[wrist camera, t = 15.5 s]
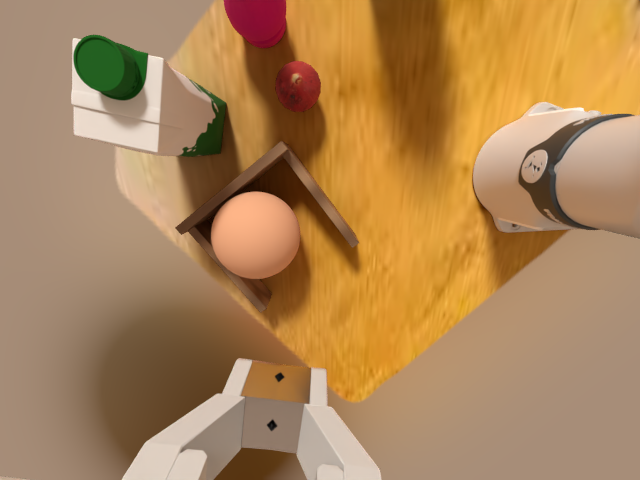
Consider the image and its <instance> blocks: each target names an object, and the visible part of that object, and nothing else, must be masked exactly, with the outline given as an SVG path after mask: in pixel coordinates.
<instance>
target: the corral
mask: <svg viewBox="0 0 640 480" xmlns="http://www.w3.org/2000/svg"><path fill="white" fill-rule="evenodd" d="M283 158H285V160H286V161H287V162H288V164H289V165H290V166H291V168H292V169H293V170H294V172H295V173H296V174H297V176H298V177H299V178H300V180H301V181H302V182H303V184H304V185H305V186H306V187H307V189H308V190H309V191H310V193H311V194H312V195H313V197H314V198H315V199H316V201H317V202H318V203H319V205H320V206H321V207H322V209H323V210H324V211H325V213H326V214H327V215H328V216H329V218H330V219H331V220H332V222H333V223H334V224H335V226H336V227H337V228H338V230H339V231H340V232H341V234H342V235H343V236H344V238H345V239H346V240H347V242H348V243H349V244H350V245H351V247H352V248H353V247H354V246H355V245H357V244H358V243H359V242H358V239H357V237H356V235H355V233H354V232H353V231H352V229H351V228H350V227H349V225H348V224H347V223H346V221H345V220H344V219H343V217H342V216H341V215H340V213H339V212H338V211H337V209H336V208H335V207H334V205H333V204H332V203H331V201H330V200H329V199H328V197H327V196H326V195H325V193H324V192H323V191H322V189H321V188H320V187H319V185H318V184H317V183H316V181H315V180H314V179H313V177H312V176H311V175H310V173H309V172H308V171H307V169H306V168H305V167H304V165H303V164H302V163H301V161H300V160H299V159H298V157H297V156H296V154H295V153H294V152H293V150H292V149H291V148H290V146H289V145H288V144H287V143H285V142H283V141H281V142H279V143H278V144H277V145H276V146H275V147H273V148H272V149H271V150H270V151H268V152H267V153H266V154H265V155H264V156H262V157H261V158H260V159H259V160H257V161H256V162H255V163H254V164H253V165H251V166H250V167H249V168H248V169H246V170H245V171H244V172H243V173H242V174H240V175H239V176H238V177H237V178H235V179H234V180H233V181H232V182H231V183H229V184H228V185H227V186H226V187H224V188H223V189H222V190H221V191H220V192H218V193H217V194H216V195H215V196H213V197H212V198H211V199H210V200H209V201H207V202H206V203H205V204H204V205H203V206H201V207H200V208H199V209H198V210H196V211H195V212H194V213H193V214H192V215H190V216H189V217H188V218H187V219H185V220H184V221H183V222H182V223H181V224H179V225H178V226H177V227H176V229H177V230H178V231H179V233H180V234H181V235H182V234H184V233H186V232H189V233H190V234H191V235H192V236H193V238H194V239H195V240H196V241H197V242H198V243H199V244H200V245H201V247H202V248H203V249H204V250H205V251H206V252H207V253H208V254H209V255H210V257H211V258H212V259H213V260H214V261H215V262H216V263H217V264H218V266H219V267H220V268H221V269H222V270H223V271H224V272H225V273H226V275H227V276H228V277H229V278H230V279H231V280H232V281H233V282H234V283H235V285H236V286H237V287H238V288H239V289H240V290H241V291H242V292H243V294H244V295H245V296H246V297H247V298H248V299H249V300H250V301H251V303H252V304H253V305H254V306H255V307H256V308H257V309H258V310H259V311H260V313H261V312H262V311H264V310H265V309H267V306H268V303H269V301H270V298H271V295H272V294H271V292H270V291H269V290H268V289H267V288H266V287H265V285H264V284H263V283H262V282H261V281H260V280H259V279H250V278H245V277H241V276H238V275H236V274H234V273H232V272H231V271H230V270H228V269H227V268H226V267H225V266H224V265H223V264H222V263H221V262H220V261H219V259H218V258H217V256H216V254H215V252H214V250H213V246H212V242H211V229H212V224H211V223H210V222H209V221H208V219H209V218H210V217H211V216H213V215H214V214H215V213H216V212H218V211H219V209H220V208H221V207H222V206H223V205H224V204H225V203H226V202H227V201H228V200H230V199H231V198H233V197H235V196H237V195H239V194H240V193H241V192H242V191H244V190H245V189H246V188H247V187H249V186H250V185H251V184H252V183H254V182H255V181H256V180H257V179H259V178H260V177H261V176H262V175H263V174H265V173H266V172H267V171H268V170H270V169H271V168H272V167H273V166H275V165H276V164H277V163H278V162H280V161H281V160H282V159H283Z"/></svg>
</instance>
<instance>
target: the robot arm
mask: <svg viewBox="0 0 640 480" xmlns="http://www.w3.org/2000/svg"><path fill="white" fill-rule="evenodd" d="M473 184H474V189H475V192H476V195H477V197H478V199H479V201H480V202H481V204H482V205H483V206H484V207H485V208H486V209H487V210H488V211H489V212H490V213H491V215H492V216H493V220H494V223H495V225H496V227H497V229H498V230H499V231H501V232H506V233H511V232H529V231H548V230H567V229H586V230H605V231H609V232H614V233H618V234H622V235H626V236H630V237H634V238H638V239H640V115H636V116H635V115H632V114H614V115H612V114H605V115H601V112H599V111H588V112H585V111H584V109H583V108H571V109H563V108H560V107H558V106H555V105H553V104H550V103H548V102H541V103H537V104H535V105H533V106H532V107H531V108H530V109H529V110H528V111H527V112H526V113H525V114H524V115H523V116H522V117H521V118H520V119H518V120H516V121H514V122H512V123H510V124H508V125H506V126H504V127H502V128H501V129H499V130H498V131H497V132H495V133H494V134H493V135H492V136H491V137H490V138H489V139H488V140H487V141H486V143H485V144H484V145H483V147H482V149H481V150H480V152H479V154H478V156H477V159H476V162H475V165H474V171H473ZM512 224H515V225H514V226H512ZM241 447H246V448H258V449H270V450H277V451H283V452H290V453H297V457H298V459H299V461H300V464H301V466H302V468H303V471H304V473H305V475H306V478H307V480H382V479H381V474H380V469H379V468H378V467H377V465H376V464H375V463H374V461H373V460H372V459H371V458H370V456H369V455H368V454H367V452H366V451H365V450H364V448H363V447H362V446H361V445H360V443H359V442H358V441H357V439H356V438H355V437H354V435H353V434H352V433H351V431H350V430H349V429H348V427H347V426H346V425H345V424H344V422H343V421H342V420H341V418H340V417H339V416H338V414H337V413H336V412H335V410H334V409H333V408H332V407H328V404H327V370H326V369H324V368H313V367H311V368H309V367H300V366H291V365H283V364H277V363H270V362H263V361H256V360H249V359H241V358H239V359H238V360H237V361H236V363H235V365H234V367H233V370H232V372H231V374H230V377H229V379H228V381H227V383H226V386H225V388H224V390H223V393H222V394H216V395H215V396H213V397H212V398H210V399H209V400H207V401H206V402H204V403H203V404H201V405H200V406H198V407H197V408H195V409H194V410H192V411H191V412H190V413H188V414H187V415H185V416H184V417H183V418H181V419H179V420H178V421H176V422H175V423H173V424H172V425H170V426H169V427H167V428H166V429H164V430H163V431H161V432H160V433H159V434H157V435H156V436H154V437H153V438H151V439H150V440H148V441H147V442H145V444H144V445H143V447H142V449H141V450H140V452H139V453H138V455H137V457H136V458H135V460H134V461H133V463H132V464H131V466H130V467H129V469H128V471H127V472H126V474H125V475H124V477H123V478H122V480H213V479H214V478H215V477H216V476H217V474H219V473H220V471H221V470H222V469H223V468H224V467H225V466H226V465H227V464H228V463H229V461H230V460H231V459H232V458H233V457H234V456H235V455H236V454H237V453H238V451H239V450H240V449H241ZM0 480H31V479H22V478H13V477H3V476H0Z"/></svg>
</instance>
